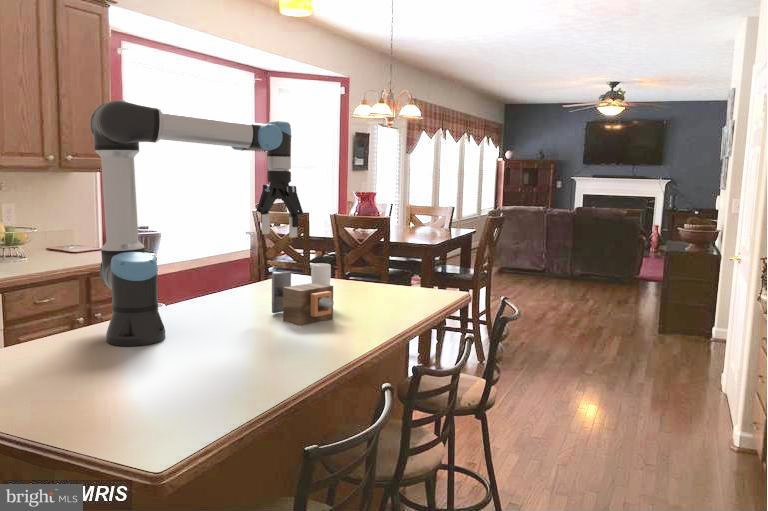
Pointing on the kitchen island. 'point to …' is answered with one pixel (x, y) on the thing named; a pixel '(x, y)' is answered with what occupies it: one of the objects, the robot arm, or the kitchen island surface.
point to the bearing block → (303, 303)
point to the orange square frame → (314, 303)
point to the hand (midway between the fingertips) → (279, 235)
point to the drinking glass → (321, 273)
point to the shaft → (285, 281)
